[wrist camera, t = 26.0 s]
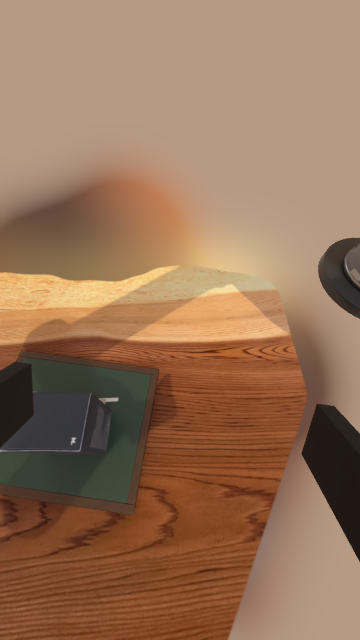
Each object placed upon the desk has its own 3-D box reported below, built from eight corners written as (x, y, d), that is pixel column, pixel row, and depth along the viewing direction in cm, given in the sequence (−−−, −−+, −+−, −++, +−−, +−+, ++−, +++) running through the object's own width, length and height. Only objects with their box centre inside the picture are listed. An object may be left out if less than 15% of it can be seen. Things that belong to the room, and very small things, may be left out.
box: (112, 409, 34) (92, 391, 25) (106, 455, 31) (80, 453, 22) (56, 408, 34) (15, 389, 25) (44, 454, 31) (-7, 452, 22)
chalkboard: (159, 371, 38) (158, 368, 37) (134, 513, 29) (132, 515, 28) (24, 352, 39) (20, 349, 38) (-41, 486, 30) (-48, 487, 29)
